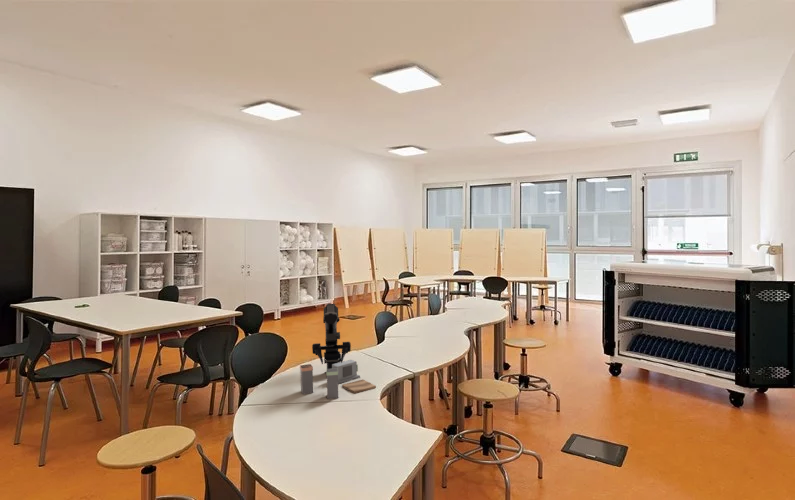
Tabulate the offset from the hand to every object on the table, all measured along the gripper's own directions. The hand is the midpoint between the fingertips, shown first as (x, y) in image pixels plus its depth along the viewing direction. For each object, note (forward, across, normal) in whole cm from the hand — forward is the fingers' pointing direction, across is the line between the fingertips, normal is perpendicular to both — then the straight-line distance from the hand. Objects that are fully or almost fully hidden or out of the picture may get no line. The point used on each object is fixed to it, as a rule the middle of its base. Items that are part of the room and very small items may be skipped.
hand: (332, 363), depth 213 cm
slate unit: (-1, +6, +20) cm, 21 cm away
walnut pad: (+8, +13, +11) cm, 19 cm away
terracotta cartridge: (+9, -12, +10) cm, 18 cm away
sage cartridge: (+15, 0, +4) cm, 16 cm away
